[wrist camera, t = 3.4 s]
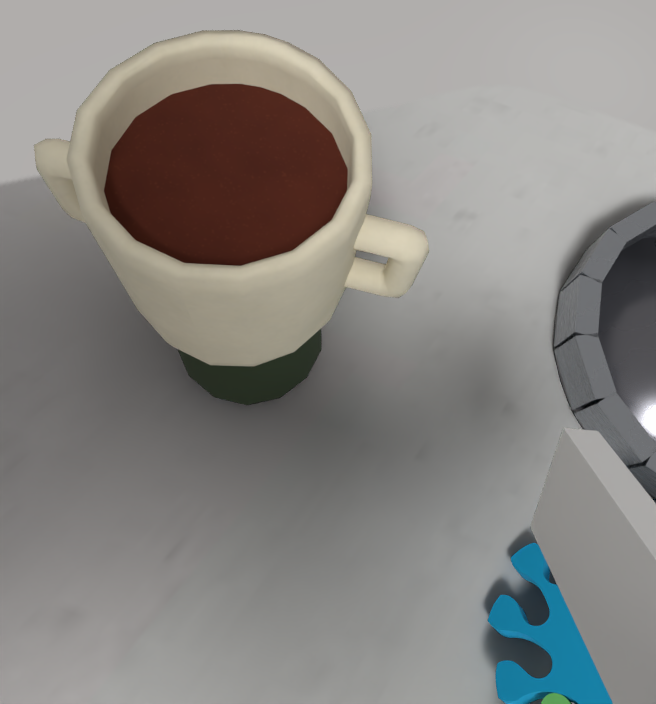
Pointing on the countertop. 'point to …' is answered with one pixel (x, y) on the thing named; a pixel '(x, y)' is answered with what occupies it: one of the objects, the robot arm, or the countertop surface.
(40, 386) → the countertop surface
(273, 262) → the character mug
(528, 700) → the gear
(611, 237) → the grey round tray
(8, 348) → the countertop surface
